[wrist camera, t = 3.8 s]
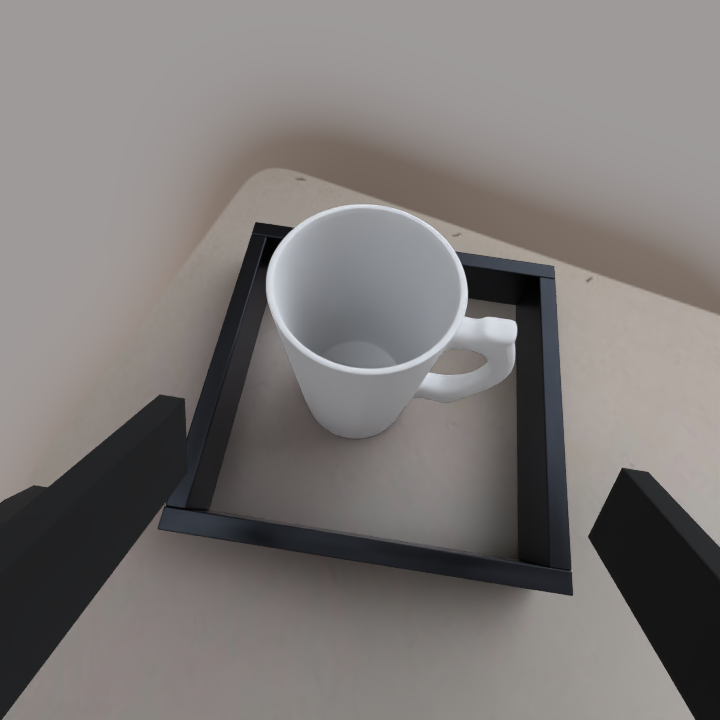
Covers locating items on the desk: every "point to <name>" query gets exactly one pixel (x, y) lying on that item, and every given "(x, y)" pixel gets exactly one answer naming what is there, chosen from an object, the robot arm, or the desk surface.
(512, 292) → the black square frame
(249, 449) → the desk surface
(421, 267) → the mug
